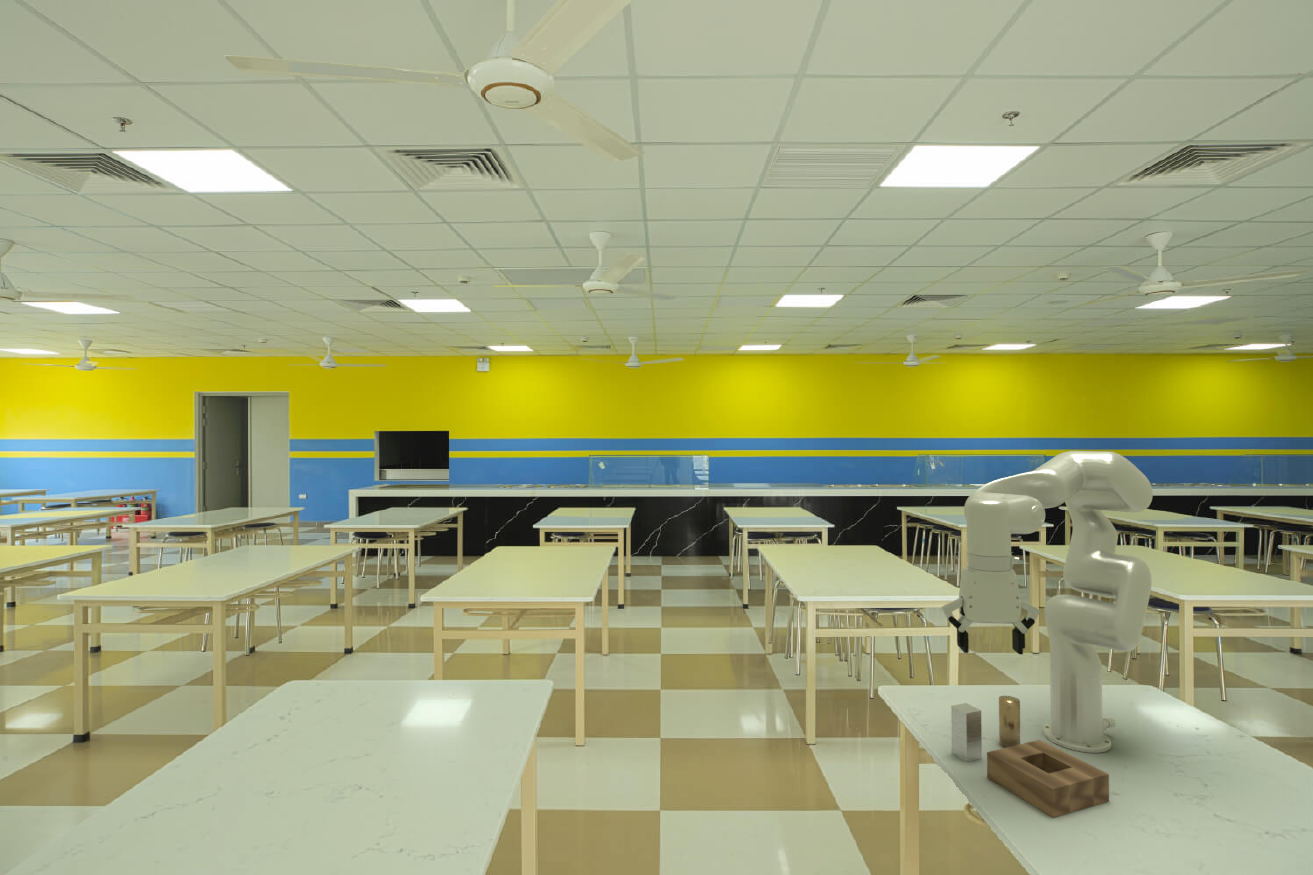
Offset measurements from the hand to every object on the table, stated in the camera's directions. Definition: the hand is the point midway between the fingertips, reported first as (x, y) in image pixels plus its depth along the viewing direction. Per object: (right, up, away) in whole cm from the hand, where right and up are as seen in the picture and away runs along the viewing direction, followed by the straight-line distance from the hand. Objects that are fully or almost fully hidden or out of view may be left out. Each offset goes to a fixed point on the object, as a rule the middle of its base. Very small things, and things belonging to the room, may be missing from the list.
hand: (990, 651), depth 122 cm
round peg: (+12, -26, +15) cm, 32 cm away
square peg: (+1, -26, +11) cm, 28 cm away
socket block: (+10, -26, -2) cm, 27 cm away
